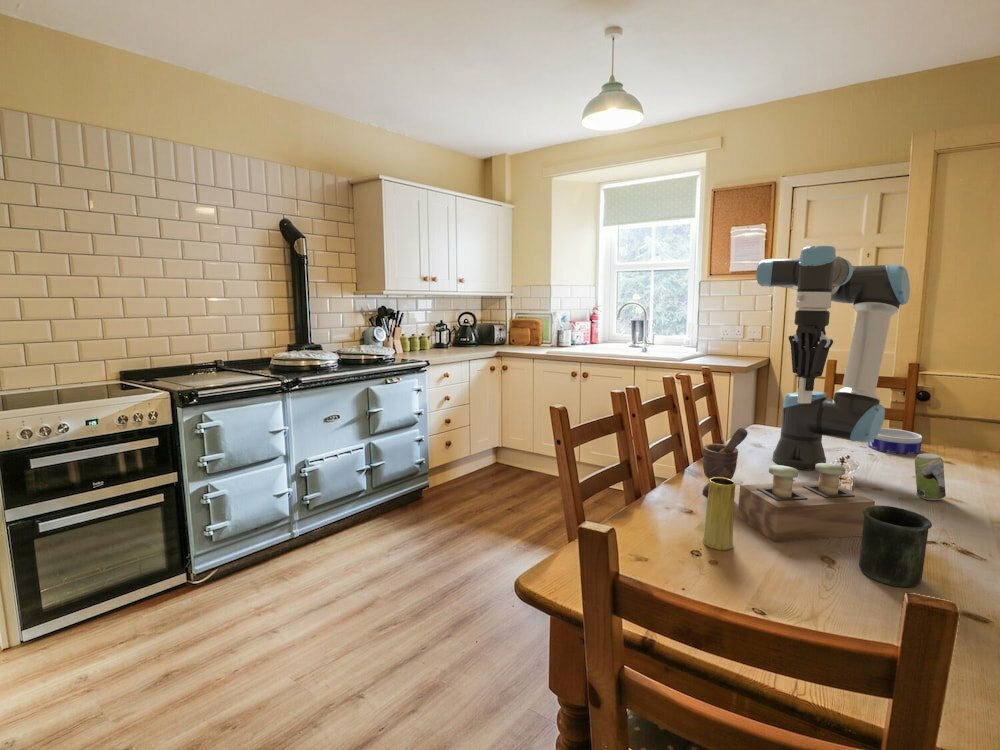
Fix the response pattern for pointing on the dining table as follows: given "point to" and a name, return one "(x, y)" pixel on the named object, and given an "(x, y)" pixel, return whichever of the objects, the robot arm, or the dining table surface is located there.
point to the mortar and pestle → (722, 458)
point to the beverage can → (930, 476)
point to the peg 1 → (782, 480)
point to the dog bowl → (897, 442)
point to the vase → (719, 514)
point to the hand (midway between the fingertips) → (804, 402)
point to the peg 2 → (829, 477)
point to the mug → (893, 545)
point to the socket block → (802, 512)
